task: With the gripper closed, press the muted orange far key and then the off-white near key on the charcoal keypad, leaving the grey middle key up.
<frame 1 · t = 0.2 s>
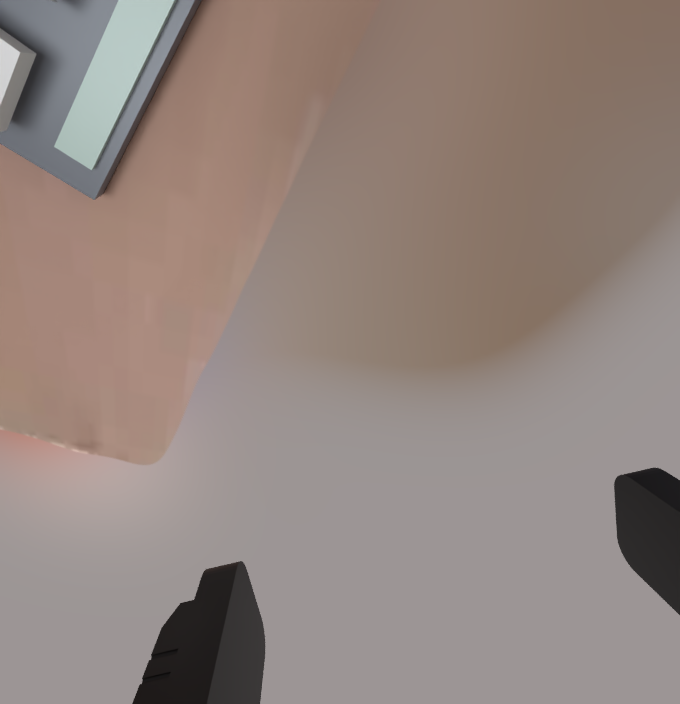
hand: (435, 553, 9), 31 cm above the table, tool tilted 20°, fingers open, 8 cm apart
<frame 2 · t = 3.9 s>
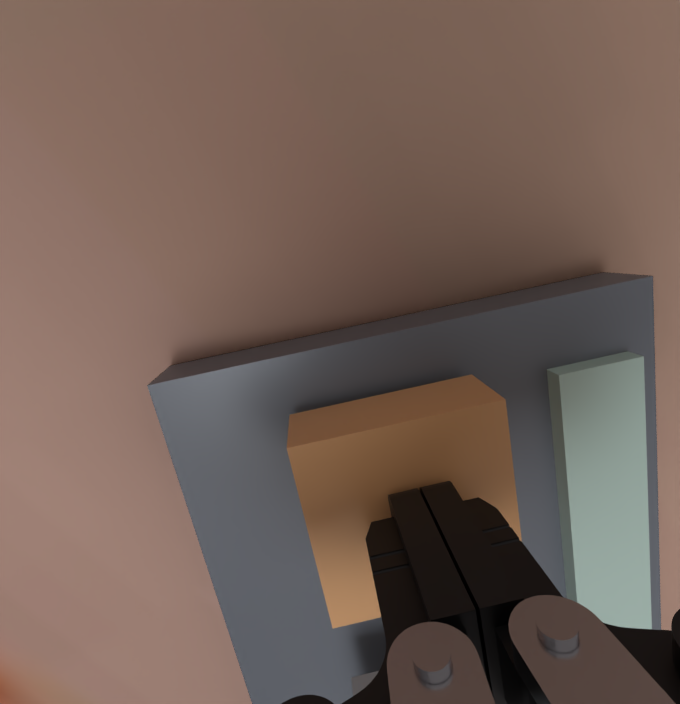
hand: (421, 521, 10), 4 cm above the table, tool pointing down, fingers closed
key orange: (404, 496, 11), point 3 cm above the table, slide at 0.9 cm, touching gripper
keypad board: (443, 622, 16), on the table
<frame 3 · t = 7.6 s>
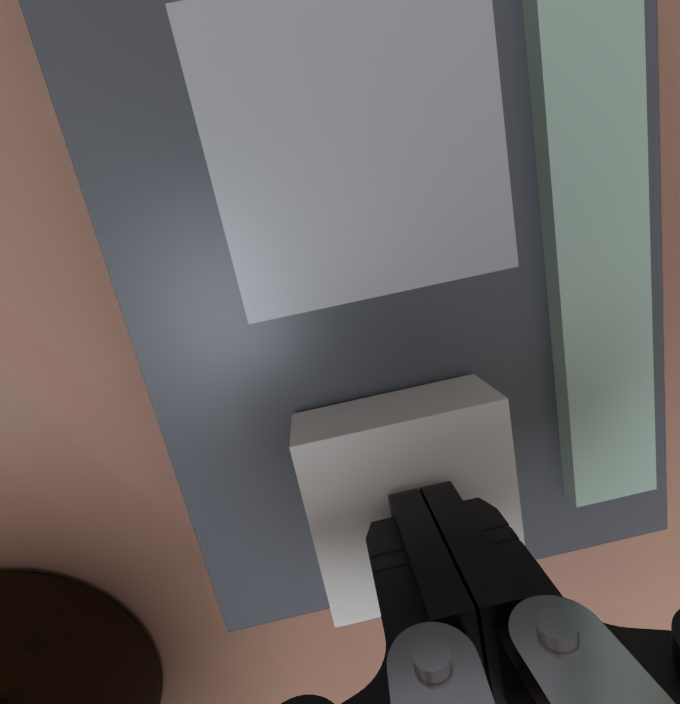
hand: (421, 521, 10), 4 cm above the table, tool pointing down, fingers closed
key white: (407, 495, 11), point 3 cm above the table, slide at 1.1 cm, touching gripper
key grey: (352, 159, 8), point 4 cm above the table, slide at 0.0 cm
keypad board: (370, 183, 12), on the table
dark brown glass bottle: (34, 674, 15), on the table
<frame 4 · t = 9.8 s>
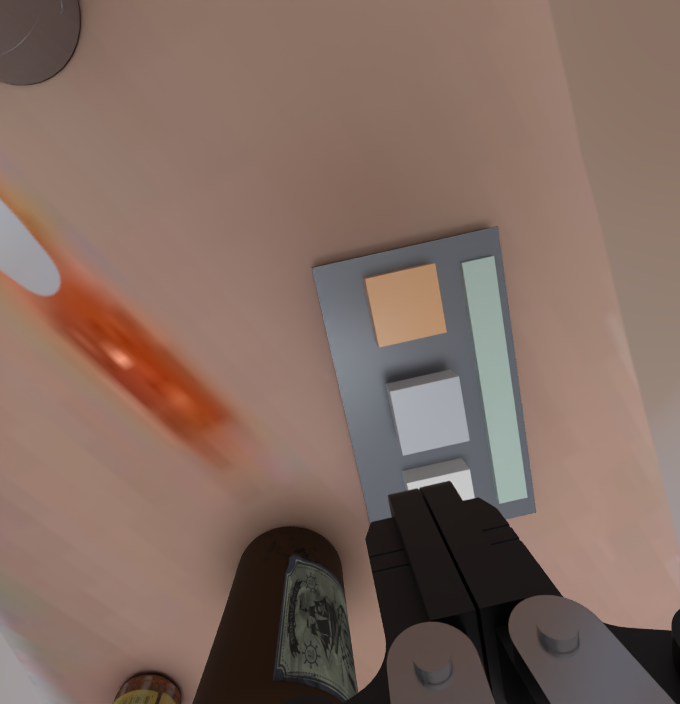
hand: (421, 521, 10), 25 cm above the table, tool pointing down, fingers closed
key white: (440, 497, 35), point 3 cm above the table, slide at 1.3 cm
key grey: (427, 411, 32), point 4 cm above the table, slide at 0.0 cm
key orange: (403, 304, 31), point 3 cm above the table, slide at 1.3 cm, touching keypad board
keypad board: (426, 391, 36), on the table
dark brown glass bottle: (291, 570, 39), on the table
sauce bottle: (154, 694, 41), on the table
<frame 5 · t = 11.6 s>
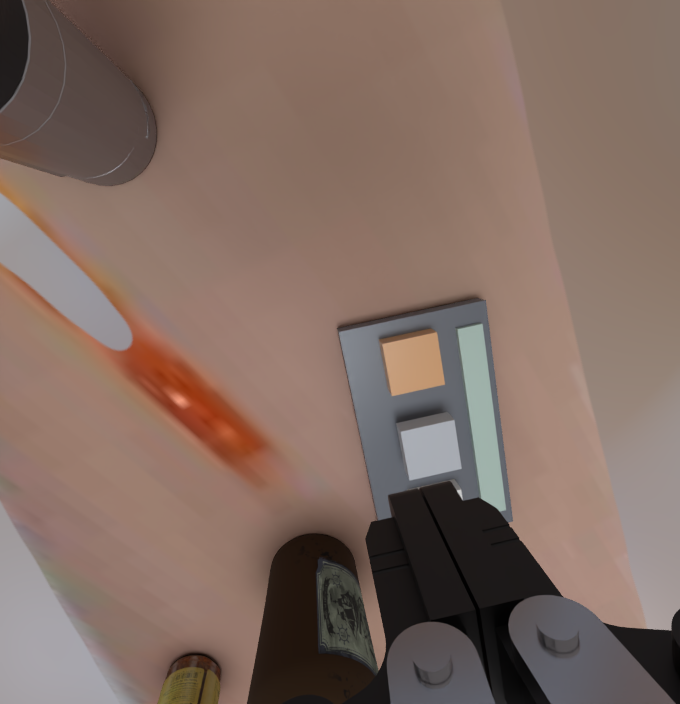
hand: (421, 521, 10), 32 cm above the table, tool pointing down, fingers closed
key white: (437, 511, 43), point 3 cm above the table, slide at 1.3 cm
key grey: (428, 445, 40), point 4 cm above the table, slide at 0.0 cm
key orange: (411, 361, 40), point 3 cm above the table, slide at 1.3 cm, touching keypad board
keypad board: (426, 425, 44), on the table
dark brown glass bottle: (314, 568, 48), on the table
sauce bottle: (197, 671, 50), on the table
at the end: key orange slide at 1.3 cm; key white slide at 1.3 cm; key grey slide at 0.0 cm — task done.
